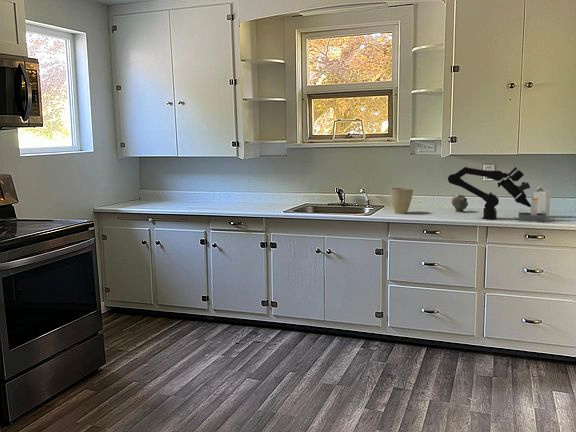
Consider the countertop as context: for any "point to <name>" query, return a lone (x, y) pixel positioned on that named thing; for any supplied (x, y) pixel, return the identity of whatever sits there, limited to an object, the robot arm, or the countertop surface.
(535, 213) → the switch lever
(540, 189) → the milk carton
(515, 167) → the robot arm
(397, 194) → the plant pot
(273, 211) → the countertop surface
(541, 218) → the switch housing
